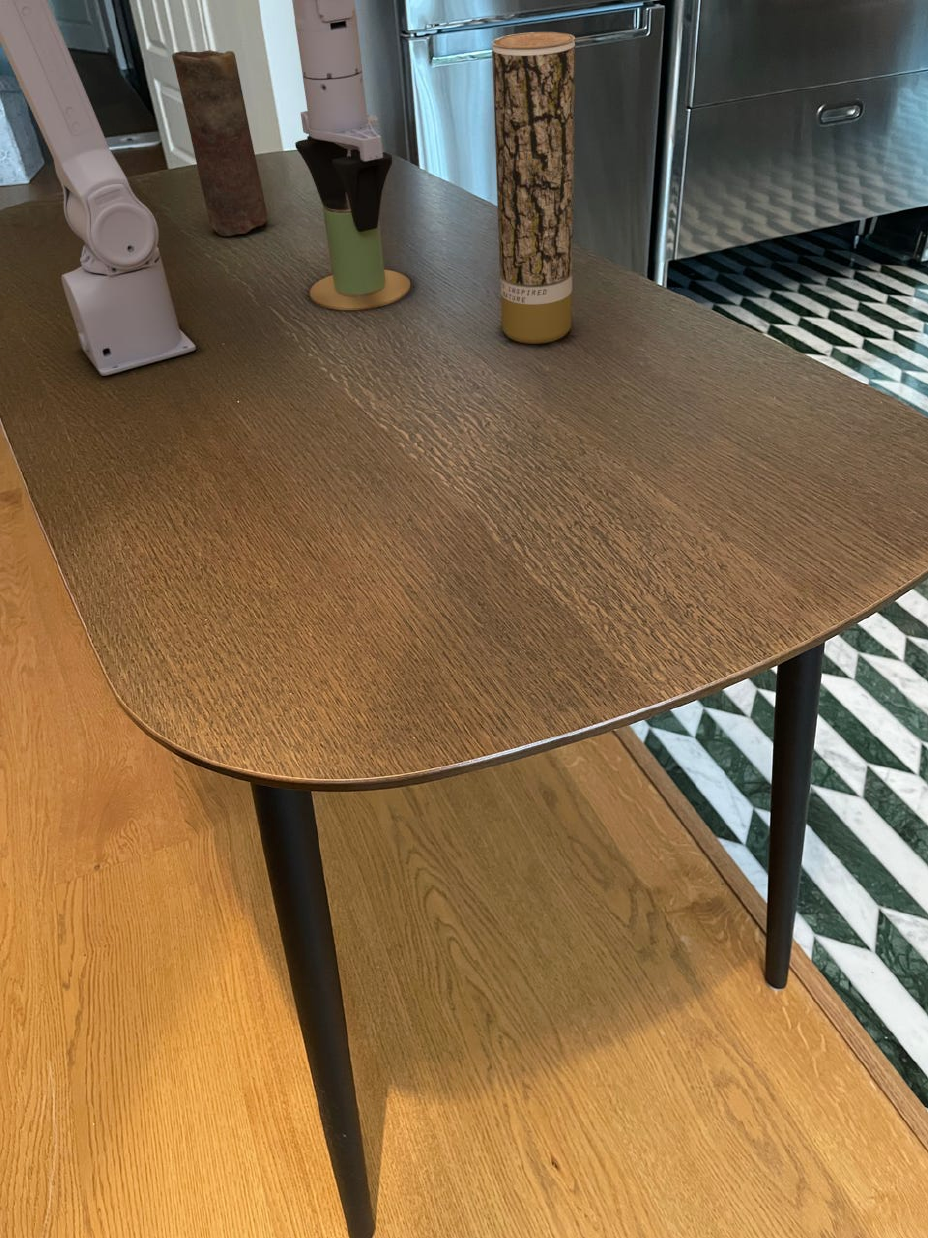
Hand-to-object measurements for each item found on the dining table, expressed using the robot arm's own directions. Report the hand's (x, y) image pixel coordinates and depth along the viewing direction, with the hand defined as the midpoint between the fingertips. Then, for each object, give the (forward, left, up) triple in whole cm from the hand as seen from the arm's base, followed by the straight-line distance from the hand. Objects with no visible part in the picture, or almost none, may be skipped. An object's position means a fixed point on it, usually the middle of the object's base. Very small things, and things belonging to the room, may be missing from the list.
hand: (350, 219), depth 101 cm
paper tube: (+9, -21, -8) cm, 24 cm away
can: (0, 0, -7) cm, 7 cm away
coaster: (0, 0, -8) cm, 8 cm away
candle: (-3, +29, -8) cm, 30 cm away
